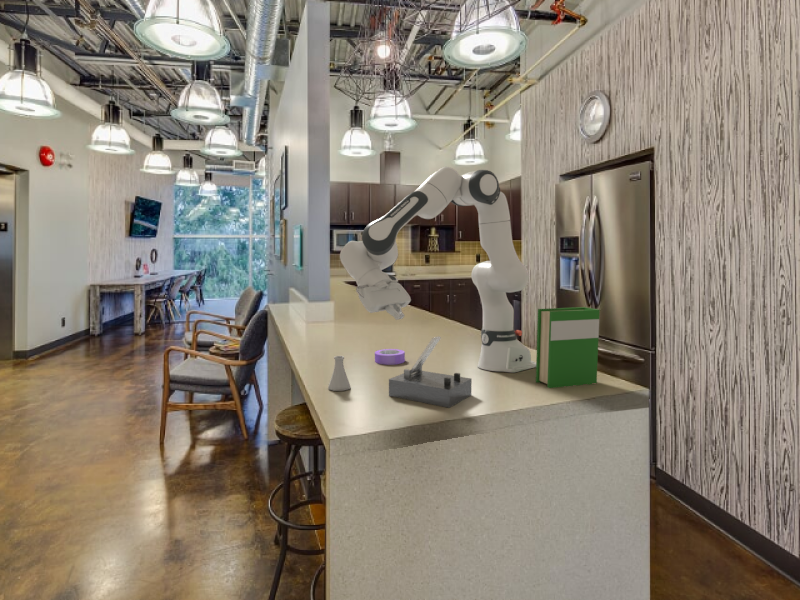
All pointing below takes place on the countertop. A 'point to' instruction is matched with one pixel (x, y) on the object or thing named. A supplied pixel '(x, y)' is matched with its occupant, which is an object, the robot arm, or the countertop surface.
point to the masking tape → (389, 356)
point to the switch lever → (424, 355)
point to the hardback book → (567, 346)
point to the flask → (339, 376)
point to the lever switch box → (430, 387)
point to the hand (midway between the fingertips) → (400, 318)
